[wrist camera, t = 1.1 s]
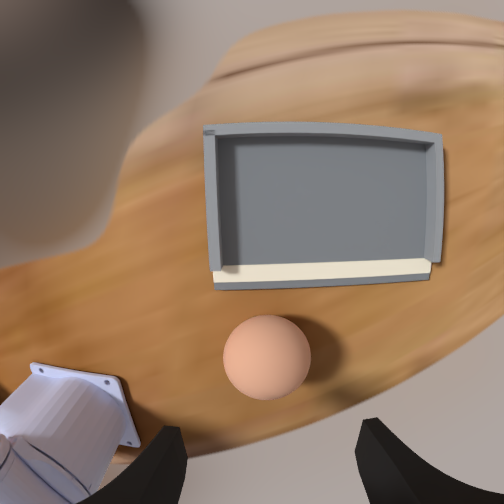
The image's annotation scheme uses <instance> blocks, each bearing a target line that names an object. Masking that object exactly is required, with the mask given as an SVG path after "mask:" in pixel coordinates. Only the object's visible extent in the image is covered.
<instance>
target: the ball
mask: <svg viewBox="0 0 504 504" xmlns="http://www.w3.org/2000/svg"><path fill="white" fill-rule="evenodd" d="M223 362H224V367H225V371H226V374H227V376H228V378H229V380H230V381H231V382H232V384H233V385H234V386H235V387H236V388H237V389H238V390H239V391H241V392H242V393H244V394H245V395H247V396H249V397H252V398H255V399H260V400H274V399H278V398H282V397H284V396H287V395H288V394H290V393H292V392H293V391H294V390H296V389H297V388H298V387H299V386H300V385H301V384H302V382H303V381H304V379H305V378H306V376H307V374H308V371H309V368H310V363H311V352H310V346H309V343H308V341H307V339H306V337H305V335H304V333H303V332H302V331H301V330H300V329H299V328H298V327H297V326H296V325H295V324H294V323H292V322H291V321H289V320H287V319H285V318H283V317H279V316H275V315H260V316H255V317H252V318H250V319H248V320H246V321H244V322H243V323H241V324H240V325H239V326H237V327H236V328H235V329H234V330H233V332H232V333H231V335H230V336H229V338H228V340H227V342H226V345H225V348H224V354H223Z"/></svg>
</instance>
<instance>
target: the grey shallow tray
mask: <svg viewBox="0 0 504 504" xmlns="http://www.w3.org/2000/svg"><path fill="white" fill-rule="evenodd" d="M203 136H204V169H205V194H206V214H207V233H208V249H209V264H210V271H213V277H214V288H215V290H240V289H274V288H300V287H322V286H342V285H359V284H375V283H390V282H404V281H417V280H429V273H430V270H431V262H440V260H441V249H442V235H443V216H444V161H443V142H442V134H437V133H431V132H424V131H417V130H410V129H402V128H393V127H384V126H373V125H361V124H346V123H325V122H249V123H228V124H213V125H203Z"/></svg>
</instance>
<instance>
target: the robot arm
mask: <svg viewBox="0 0 504 504" xmlns="http://www.w3.org/2000/svg"><path fill="white" fill-rule="evenodd" d="M30 368H31V371H32V374H31V375H30V376H29V377H28V378H27V379H26V380H25V381H24V382H23V383H22V384H21V385H20V386H19V387H18V388H17V389H16V390H15V391H14V392H13V393H12V394H11V395H10V396H9V397H8V398H7V399H6V400H5V401H4V402H3V403H2V404H1V405H0V504H178V501H179V498H180V494H181V491H182V487H183V483H184V480H185V474H186V467H187V459H188V457H187V454H186V450H185V447H184V443H183V439H182V435H181V432H180V428H179V427H174V426H164V427H162V429H161V430H160V431H159V432H158V434H157V435H156V436H155V437H154V439H153V440H152V441H151V442H150V443H149V445H148V446H147V447H146V448H145V449H144V450H143V452H142V453H141V454H140V455H139V456H138V457H137V458H136V459H135V460H134V461H133V462H132V463H131V464H130V465H129V466H128V467H127V468H126V469H125V470H124V471H123V472H122V473H121V474H120V475H119V476H117V477H116V478H115V479H114V480H112V481H111V482H110V483H109V484H107V485H106V486H104V487H103V488H102V489H100V490H99V491H97V490H98V488H99V486H100V483H101V481H102V479H103V477H104V475H105V473H106V471H107V468H108V466H109V464H110V462H111V460H112V458H113V456H114V454H115V452H116V450H117V447H118V445H119V444H120V445H125V446H131V447H140V445H141V442H140V439H139V437H138V434H137V431H136V428H135V426H134V423H133V420H132V417H131V414H130V411H129V408H128V405H127V402H126V399H125V396H124V393H123V390H122V386H121V383H120V381H119V379H118V378H117V377H115V376H110V375H103V374H96V373H89V372H83V371H76V370H71V369H65V368H60V367H54V366H49V365H45V364H40V363H35V362H32V363H31V364H30ZM107 380H108V381H109V382H110V383H109V382H108V381H107ZM355 456H356V460H357V465H358V470H359V473H360V476H361V479H362V482H363V485H364V487H365V490H366V493H367V496H368V499H369V502H370V504H504V494H500V493H495V492H490V491H486V490H483V489H479V488H476V487H473V486H470V485H468V484H465V483H463V482H461V481H458V480H456V479H454V478H452V477H450V476H448V475H446V474H444V473H443V472H441V471H440V470H438V469H436V468H435V467H433V466H432V465H430V464H429V463H427V462H426V461H425V460H423V459H422V458H421V457H419V456H418V455H417V454H416V453H414V452H413V451H412V450H411V449H410V448H409V447H407V446H406V445H405V444H404V443H403V442H402V441H401V440H400V439H399V438H397V436H396V435H394V433H392V432H391V431H390V430H389V429H388V428H387V427H386V426H385V425H384V424H383V423H382V422H381V421H380V420H379V419H378V418H377V417H376V418H371V419H365V420H363V422H362V426H361V430H360V434H359V437H358V441H357V445H356V448H355Z"/></svg>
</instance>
